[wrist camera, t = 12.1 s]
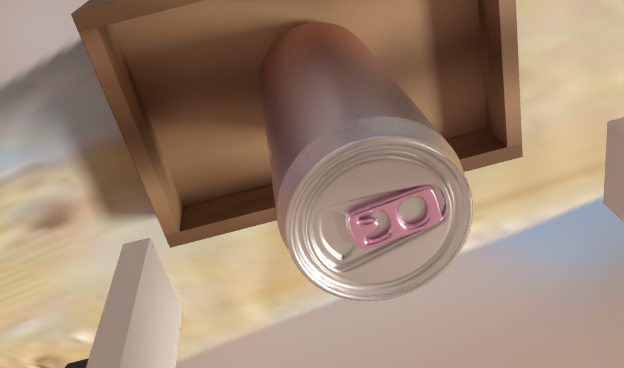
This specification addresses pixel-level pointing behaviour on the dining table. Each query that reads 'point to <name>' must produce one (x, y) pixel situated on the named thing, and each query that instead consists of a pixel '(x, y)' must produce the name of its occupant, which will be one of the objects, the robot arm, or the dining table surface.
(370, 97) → the beverage can
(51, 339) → the dining table surface
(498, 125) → the crate
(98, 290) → the dining table surface
